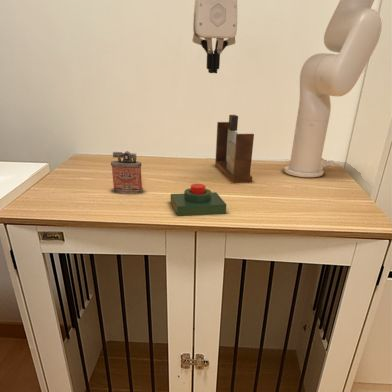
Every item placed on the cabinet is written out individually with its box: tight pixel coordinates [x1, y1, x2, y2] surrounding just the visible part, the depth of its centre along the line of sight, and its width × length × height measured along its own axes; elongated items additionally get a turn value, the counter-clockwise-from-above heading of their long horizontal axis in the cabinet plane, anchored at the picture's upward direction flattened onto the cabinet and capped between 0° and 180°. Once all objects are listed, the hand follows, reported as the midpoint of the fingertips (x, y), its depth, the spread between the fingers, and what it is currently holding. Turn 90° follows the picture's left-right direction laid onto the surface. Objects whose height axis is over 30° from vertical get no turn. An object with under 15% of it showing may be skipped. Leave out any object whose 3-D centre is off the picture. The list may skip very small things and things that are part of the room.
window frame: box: [214, 121, 255, 184], centre depth 127 cm, size 6×22×13 cm, turn 12°
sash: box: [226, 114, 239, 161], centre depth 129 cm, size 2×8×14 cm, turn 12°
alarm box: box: [170, 187, 227, 217], centre depth 101 cm, size 12×10×4 cm
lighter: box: [110, 150, 144, 194], centre depth 109 cm, size 8×3×10 cm, turn 88°
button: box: [190, 183, 206, 194], centre depth 100 cm, size 4×4×2 cm
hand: (212, 72), depth 105 cm, fingers closed
